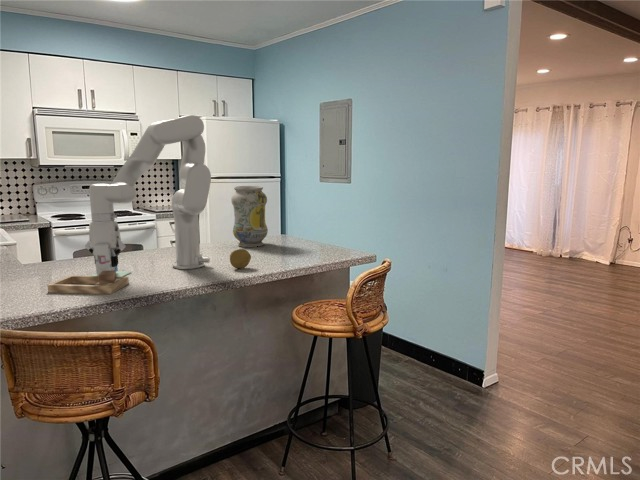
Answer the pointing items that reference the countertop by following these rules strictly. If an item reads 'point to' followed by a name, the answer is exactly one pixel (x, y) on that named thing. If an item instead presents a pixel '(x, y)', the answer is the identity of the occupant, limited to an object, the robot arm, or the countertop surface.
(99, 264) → the ink box
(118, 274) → the mat
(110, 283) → the offcut low
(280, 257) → the countertop surface
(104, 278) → the offcut top
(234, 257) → the potato
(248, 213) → the vase
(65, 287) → the frame
